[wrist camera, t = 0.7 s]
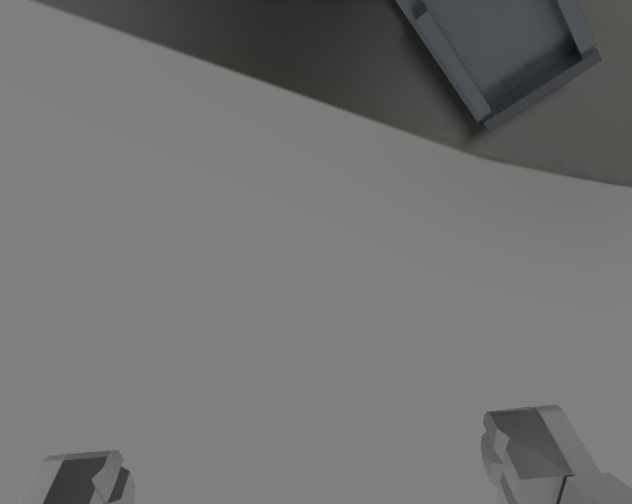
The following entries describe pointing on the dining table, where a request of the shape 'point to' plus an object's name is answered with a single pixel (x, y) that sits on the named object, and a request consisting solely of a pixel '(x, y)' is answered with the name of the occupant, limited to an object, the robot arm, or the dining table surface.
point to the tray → (504, 49)
